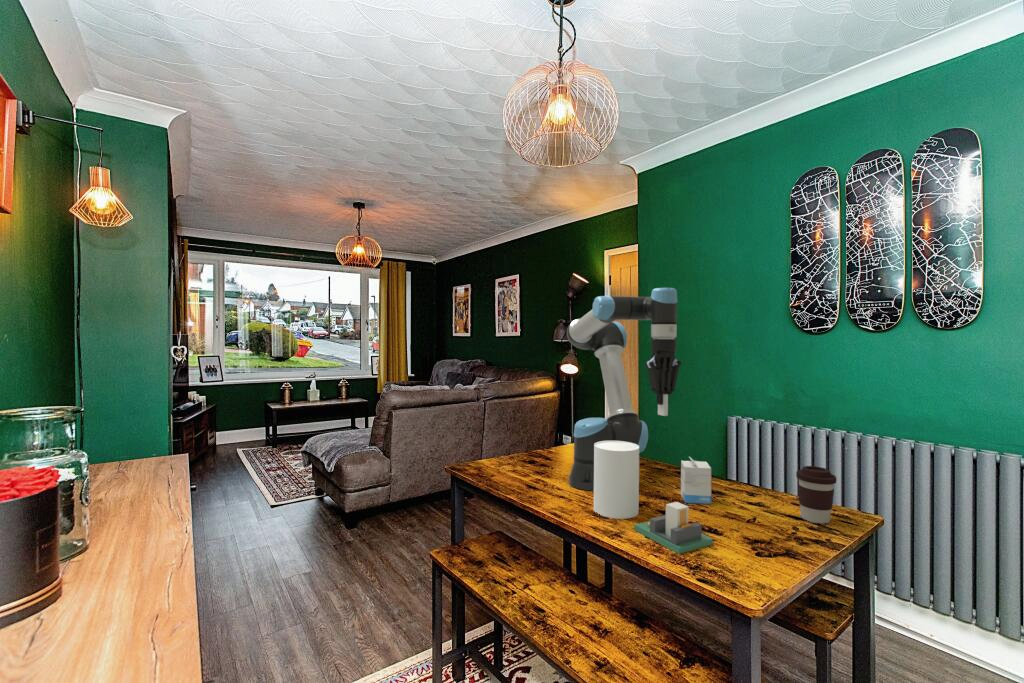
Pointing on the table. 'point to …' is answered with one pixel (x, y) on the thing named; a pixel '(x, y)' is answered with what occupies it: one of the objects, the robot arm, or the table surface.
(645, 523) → the board
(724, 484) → the table surface
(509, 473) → the table surface
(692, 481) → the ink box
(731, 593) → the table surface
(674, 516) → the plug
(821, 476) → the coffee cup
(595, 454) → the canister
